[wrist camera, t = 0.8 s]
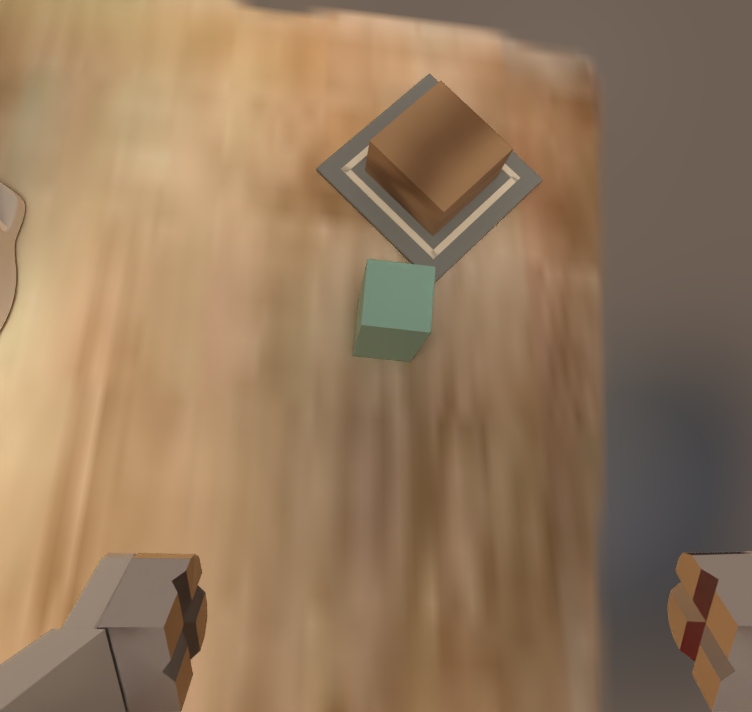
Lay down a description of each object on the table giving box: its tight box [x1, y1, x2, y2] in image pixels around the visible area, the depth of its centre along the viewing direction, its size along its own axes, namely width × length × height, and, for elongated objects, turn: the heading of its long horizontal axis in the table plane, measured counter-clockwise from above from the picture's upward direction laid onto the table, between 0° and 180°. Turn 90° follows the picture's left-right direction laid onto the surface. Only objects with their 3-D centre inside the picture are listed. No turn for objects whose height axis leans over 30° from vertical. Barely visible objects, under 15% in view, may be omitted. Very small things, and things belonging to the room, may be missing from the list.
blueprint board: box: [316, 74, 543, 283], centre depth 47 cm, size 12×12×1 cm
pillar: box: [353, 259, 436, 362], centre depth 40 cm, size 4×4×8 cm
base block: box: [365, 81, 513, 236], centre depth 45 cm, size 7×7×4 cm
